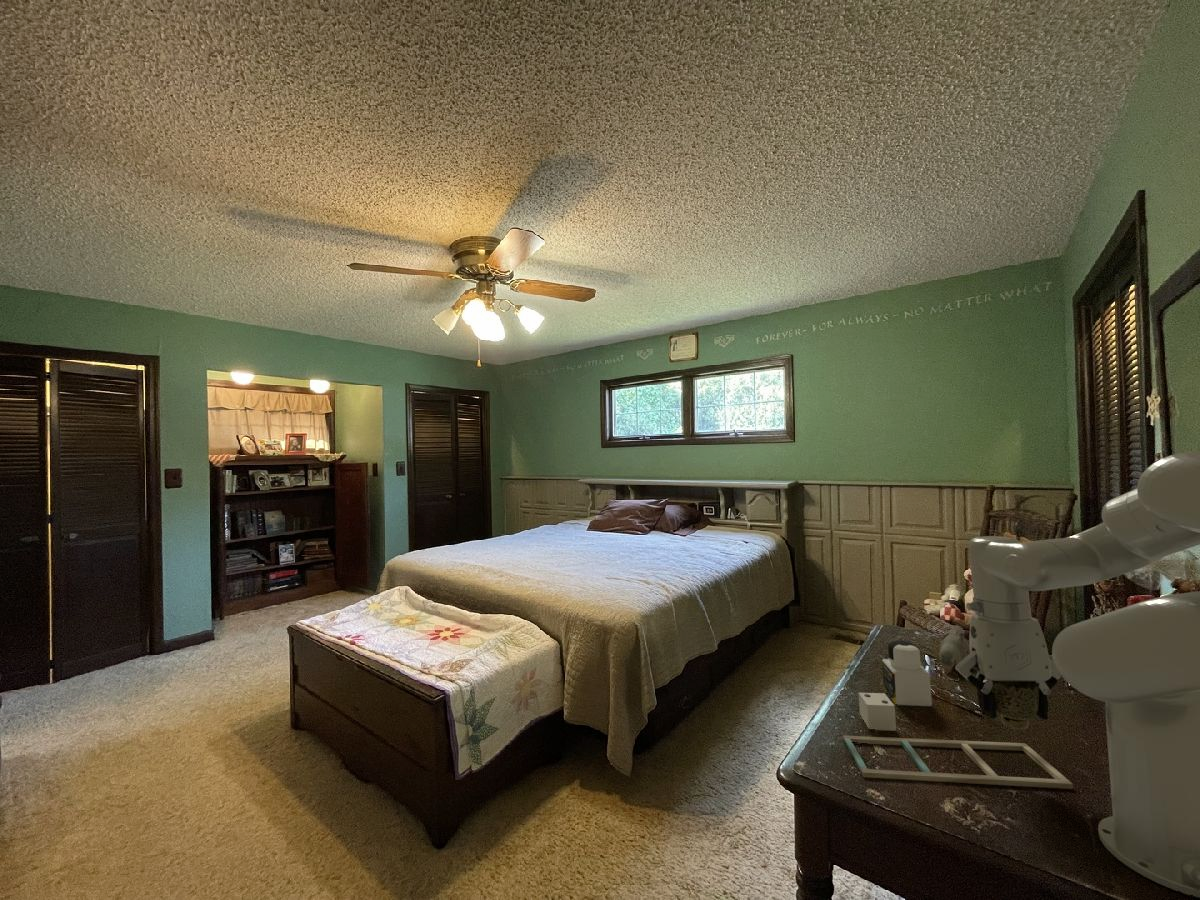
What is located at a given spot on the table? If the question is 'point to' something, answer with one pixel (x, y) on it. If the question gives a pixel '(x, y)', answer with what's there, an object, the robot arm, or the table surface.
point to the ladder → (967, 746)
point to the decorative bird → (952, 648)
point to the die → (877, 711)
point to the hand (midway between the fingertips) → (1013, 714)
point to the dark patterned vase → (1016, 702)
